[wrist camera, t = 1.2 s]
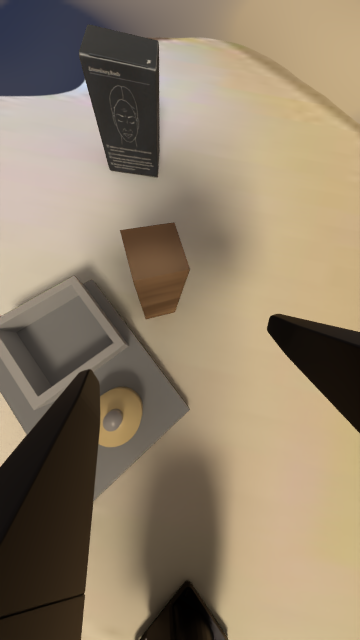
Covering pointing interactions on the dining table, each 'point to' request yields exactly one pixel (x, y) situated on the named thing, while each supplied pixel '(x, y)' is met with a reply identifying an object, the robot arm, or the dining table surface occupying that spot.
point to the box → (124, 97)
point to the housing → (81, 354)
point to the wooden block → (156, 266)
